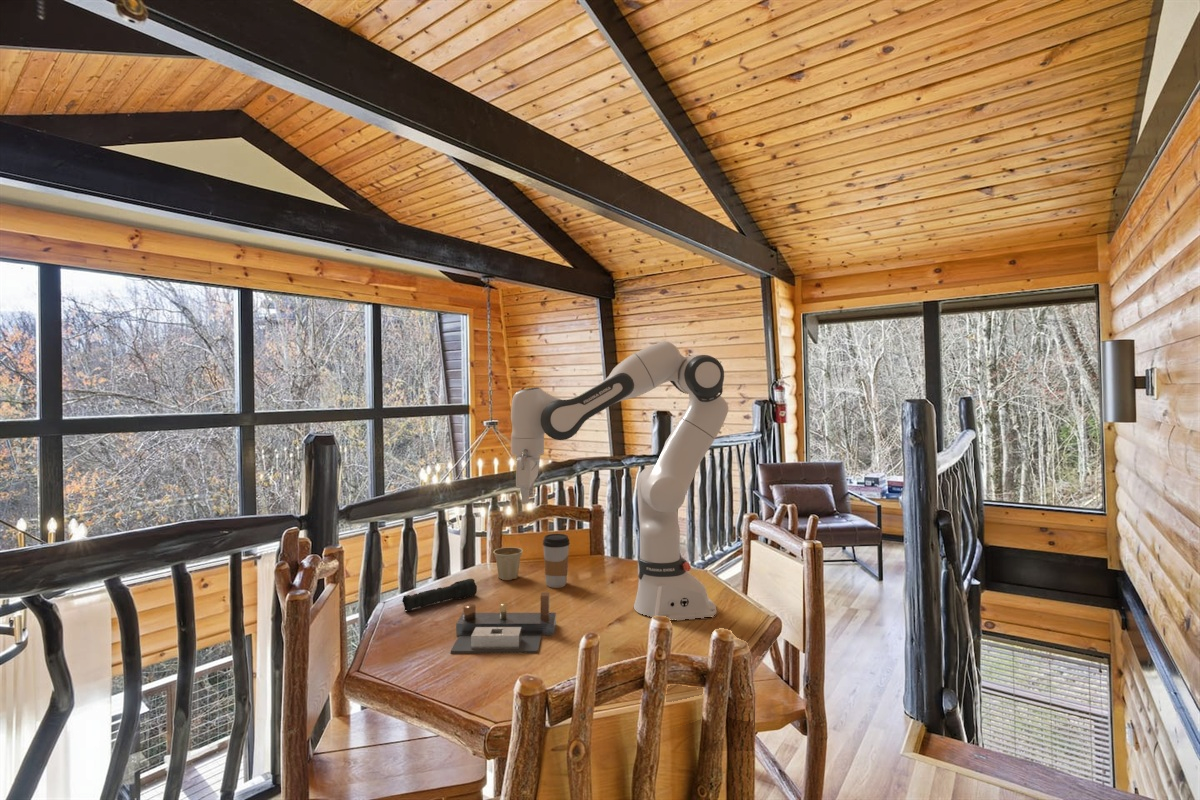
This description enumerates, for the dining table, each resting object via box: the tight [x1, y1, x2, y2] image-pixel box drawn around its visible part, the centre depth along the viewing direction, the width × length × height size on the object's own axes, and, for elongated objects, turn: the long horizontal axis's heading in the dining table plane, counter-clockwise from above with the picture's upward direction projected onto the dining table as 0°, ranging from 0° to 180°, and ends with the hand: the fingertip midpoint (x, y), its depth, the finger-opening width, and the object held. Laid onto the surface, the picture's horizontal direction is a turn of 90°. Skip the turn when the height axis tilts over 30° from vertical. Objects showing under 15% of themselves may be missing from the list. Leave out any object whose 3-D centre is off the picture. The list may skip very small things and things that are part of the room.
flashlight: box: [402, 578, 478, 613], centre depth 164 cm, size 5×21×5 cm, turn 131°
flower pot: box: [493, 546, 524, 581], centre depth 186 cm, size 9×9×9 cm
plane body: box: [455, 592, 557, 637], centre depth 145 cm, size 24×7×9 cm, turn 90°
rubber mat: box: [450, 636, 542, 654], centre depth 136 cm, size 20×8×1 cm, turn 90°
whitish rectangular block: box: [471, 627, 522, 649], centre depth 136 cm, size 11×5×3 cm, turn 90°
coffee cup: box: [542, 533, 570, 589], centre depth 179 cm, size 8×8×15 cm
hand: (527, 499), depth 155 cm, fingers open, 8 cm apart
